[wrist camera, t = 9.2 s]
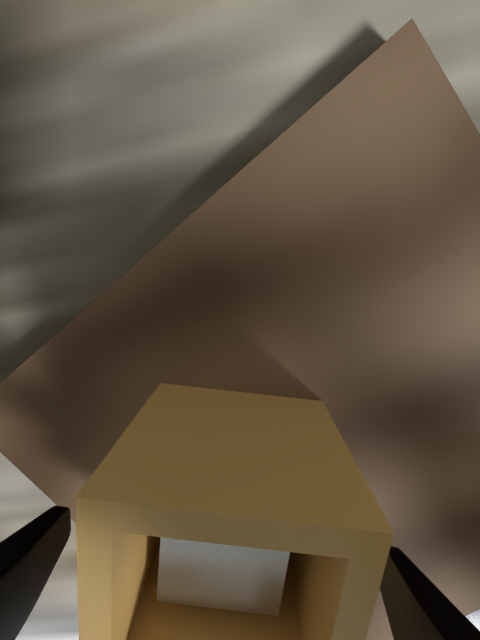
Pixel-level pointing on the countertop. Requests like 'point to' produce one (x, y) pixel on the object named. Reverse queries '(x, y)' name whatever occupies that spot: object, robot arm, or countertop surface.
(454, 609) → the robot arm
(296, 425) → the collar
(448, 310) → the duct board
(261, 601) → the grey metal block
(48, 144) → the countertop surface
